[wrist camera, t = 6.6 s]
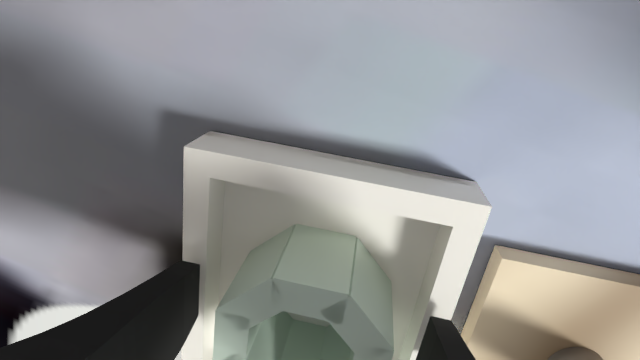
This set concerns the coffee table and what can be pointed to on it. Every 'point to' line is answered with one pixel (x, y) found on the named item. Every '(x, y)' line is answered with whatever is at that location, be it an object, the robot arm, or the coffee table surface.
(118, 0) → the coffee table surface
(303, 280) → the ring
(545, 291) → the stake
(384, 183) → the tray
